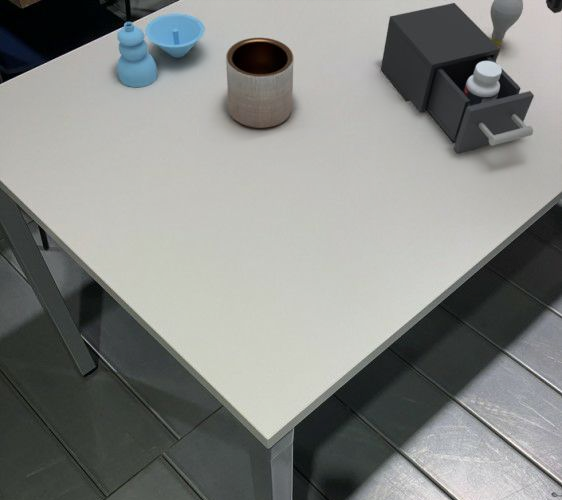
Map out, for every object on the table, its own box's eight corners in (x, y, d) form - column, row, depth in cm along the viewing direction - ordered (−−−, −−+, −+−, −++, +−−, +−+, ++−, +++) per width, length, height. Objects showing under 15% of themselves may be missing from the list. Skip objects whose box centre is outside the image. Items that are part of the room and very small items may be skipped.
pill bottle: (450, 112, 103) (465, 61, 96) (477, 105, 105) (494, 55, 97) (466, 131, 101) (483, 81, 93) (494, 124, 102) (512, 74, 94)
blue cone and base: (180, 30, 117) (174, -20, 110) (218, 54, 114) (215, 3, 106) (104, 70, 110) (92, 19, 103) (142, 97, 107) (132, 46, 99)
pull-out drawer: (533, 155, 100) (552, 113, 93) (472, 172, 98) (487, 130, 91) (474, 90, 109) (487, 47, 102) (416, 104, 106) (427, 61, 99)
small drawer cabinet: (482, 102, 108) (500, 48, 100) (419, 117, 106) (432, 64, 97) (441, 55, 115) (454, 2, 107) (380, 69, 113) (389, 16, 104)
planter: (218, 99, 107) (215, 45, 99) (276, 84, 110) (277, 30, 101) (242, 137, 102) (241, 83, 94) (302, 121, 104) (305, 67, 96)
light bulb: (509, 42, 118) (528, -13, 109) (507, 58, 115) (527, 3, 107) (480, 38, 119) (497, -18, 110) (478, 54, 116) (495, -2, 107)
